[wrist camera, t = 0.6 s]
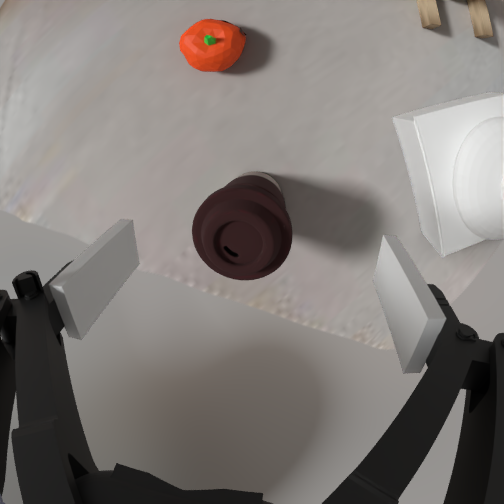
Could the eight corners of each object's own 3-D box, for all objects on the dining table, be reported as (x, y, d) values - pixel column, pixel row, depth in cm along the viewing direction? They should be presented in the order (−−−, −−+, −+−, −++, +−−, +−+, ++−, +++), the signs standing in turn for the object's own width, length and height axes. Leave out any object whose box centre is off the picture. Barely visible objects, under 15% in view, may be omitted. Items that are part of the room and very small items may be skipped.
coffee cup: (278, 151, 39) (271, 178, 26) (301, 219, 43) (304, 275, 30) (209, 175, 42) (170, 213, 29) (235, 238, 46) (211, 298, 32)
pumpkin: (193, 24, 33) (178, 7, 27) (252, 30, 33) (246, 12, 27) (180, 71, 35) (163, 61, 29) (240, 79, 35) (232, 68, 29)
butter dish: (421, 231, 42) (467, 291, 28) (389, 113, 35) (442, 123, 21) (507, 199, 37) (567, 242, 23) (487, 88, 30) (559, 95, 16)
